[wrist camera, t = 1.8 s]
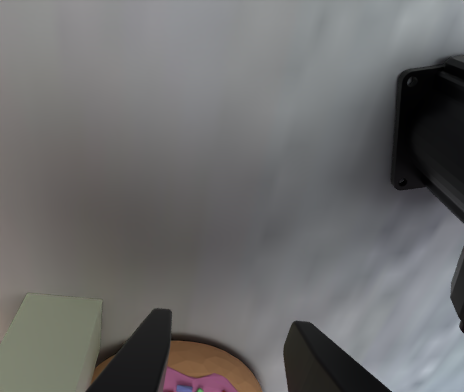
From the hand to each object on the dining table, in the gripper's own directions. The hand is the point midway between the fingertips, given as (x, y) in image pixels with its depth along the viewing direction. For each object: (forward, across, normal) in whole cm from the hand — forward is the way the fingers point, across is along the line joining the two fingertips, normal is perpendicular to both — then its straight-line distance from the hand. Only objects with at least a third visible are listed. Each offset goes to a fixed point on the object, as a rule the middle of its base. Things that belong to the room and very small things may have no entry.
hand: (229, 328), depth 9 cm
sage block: (+13, -7, -14) cm, 21 cm away
